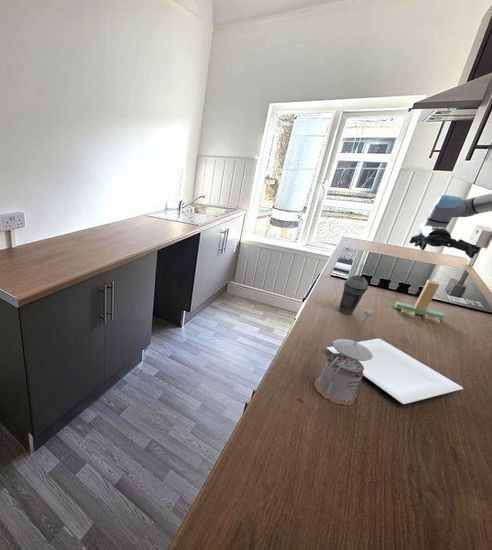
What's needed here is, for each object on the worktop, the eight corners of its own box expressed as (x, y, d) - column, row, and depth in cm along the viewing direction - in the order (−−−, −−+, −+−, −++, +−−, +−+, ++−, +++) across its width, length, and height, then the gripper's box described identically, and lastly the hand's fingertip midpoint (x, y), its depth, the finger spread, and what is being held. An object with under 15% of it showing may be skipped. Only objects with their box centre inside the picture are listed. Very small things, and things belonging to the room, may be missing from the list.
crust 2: (436, 320, 113) (438, 317, 113) (438, 325, 110) (440, 321, 110) (422, 316, 115) (424, 313, 115) (424, 321, 113) (425, 317, 112)
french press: (364, 396, 77) (405, 315, 66) (340, 414, 71) (380, 328, 61) (325, 372, 85) (356, 296, 74) (301, 387, 79) (331, 306, 69)
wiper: (440, 318, 115) (458, 286, 109) (441, 321, 113) (460, 289, 107) (394, 306, 122) (408, 275, 117) (394, 309, 120) (409, 278, 114)
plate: (400, 409, 73) (404, 403, 73) (324, 352, 93) (326, 347, 92) (460, 393, 79) (464, 387, 78) (377, 342, 99) (379, 337, 98)
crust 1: (413, 314, 117) (415, 311, 116) (412, 318, 114) (414, 315, 113) (400, 310, 119) (402, 307, 118) (399, 314, 116) (401, 311, 116)
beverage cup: (337, 314, 115) (356, 267, 106) (332, 305, 121) (349, 260, 113) (359, 318, 113) (380, 270, 104) (352, 309, 119) (371, 263, 111)
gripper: (472, 250, 124) (489, 267, 108) (396, 238, 136) (401, 252, 121) (482, 233, 121) (501, 248, 105) (403, 222, 133) (409, 235, 117)
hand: (448, 250), depth 113 cm, fingers open, 13 cm apart
